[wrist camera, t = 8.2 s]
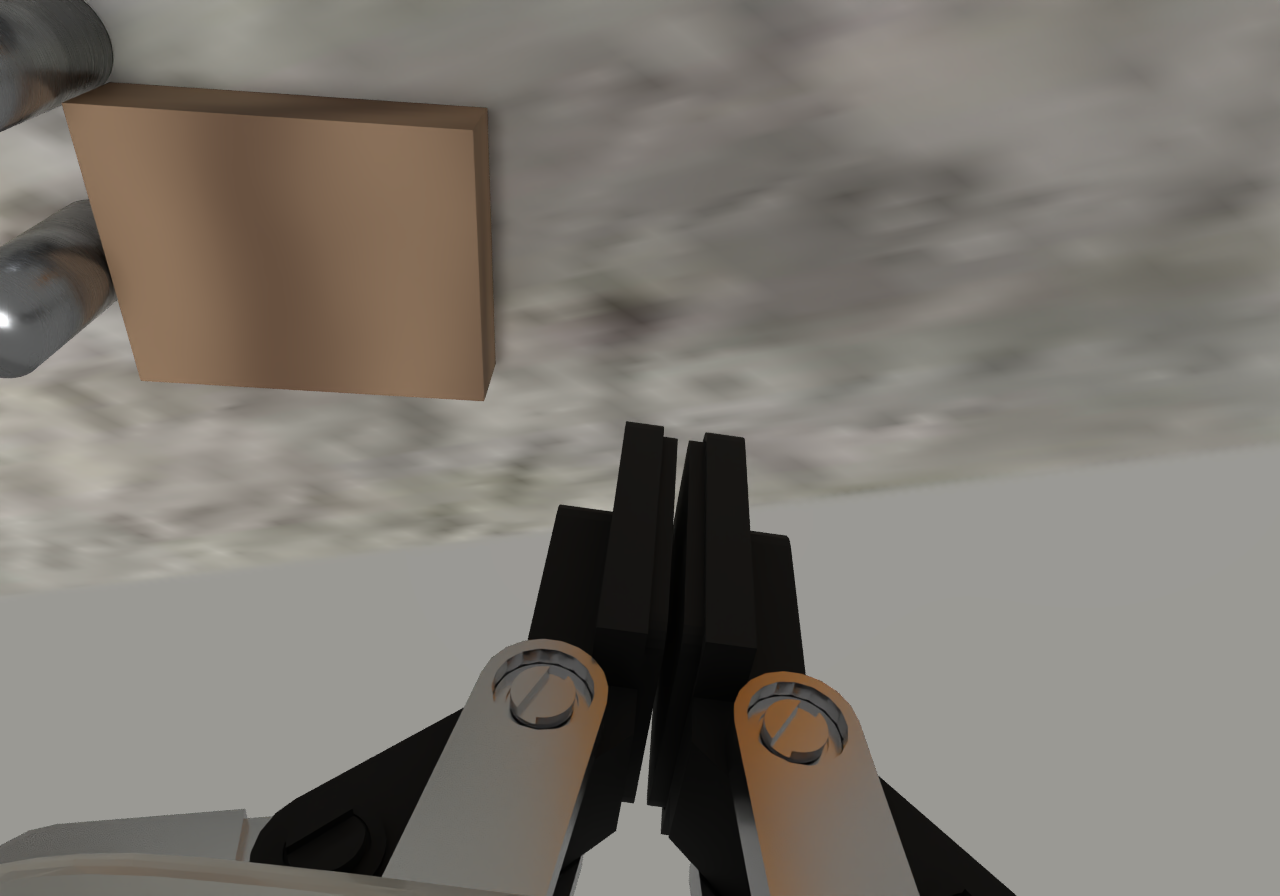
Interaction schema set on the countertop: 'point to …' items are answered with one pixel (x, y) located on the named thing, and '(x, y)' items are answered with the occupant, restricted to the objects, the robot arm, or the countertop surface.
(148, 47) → the countertop surface
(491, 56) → the countertop surface
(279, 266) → the tan slab
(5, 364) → the peg
